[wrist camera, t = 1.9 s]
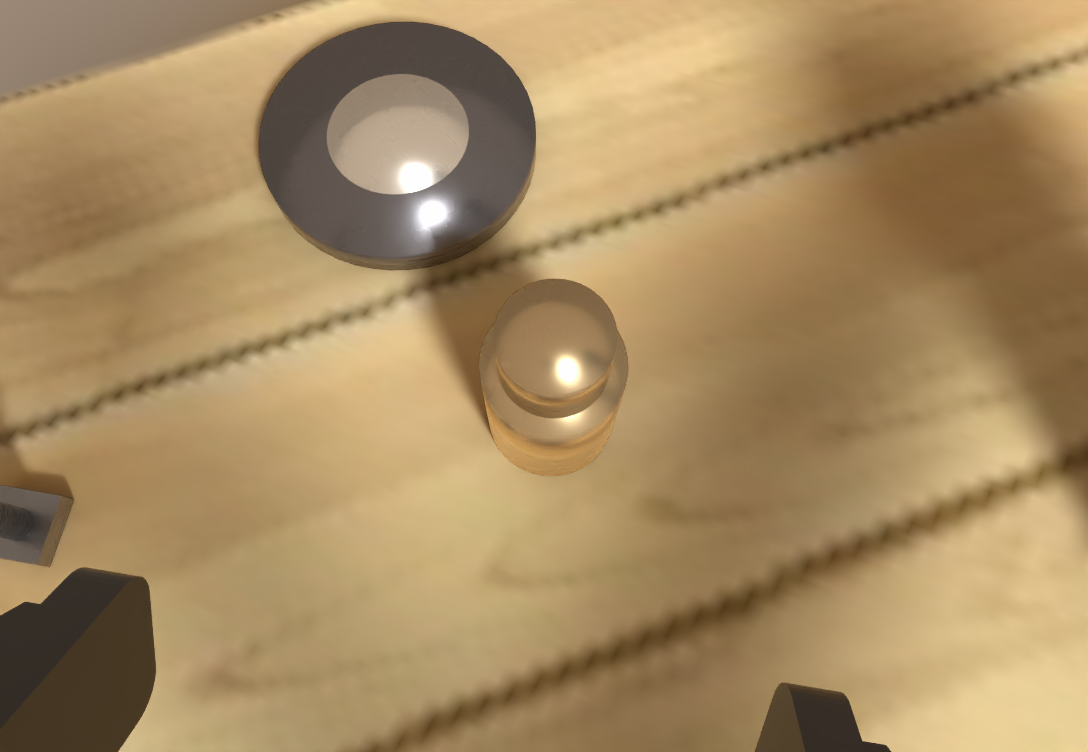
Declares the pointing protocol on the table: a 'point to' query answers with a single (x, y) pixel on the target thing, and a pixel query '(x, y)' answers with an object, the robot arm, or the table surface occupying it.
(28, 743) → the robot arm
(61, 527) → the dial gauge
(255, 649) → the table surface
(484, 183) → the turntable
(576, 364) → the weight
